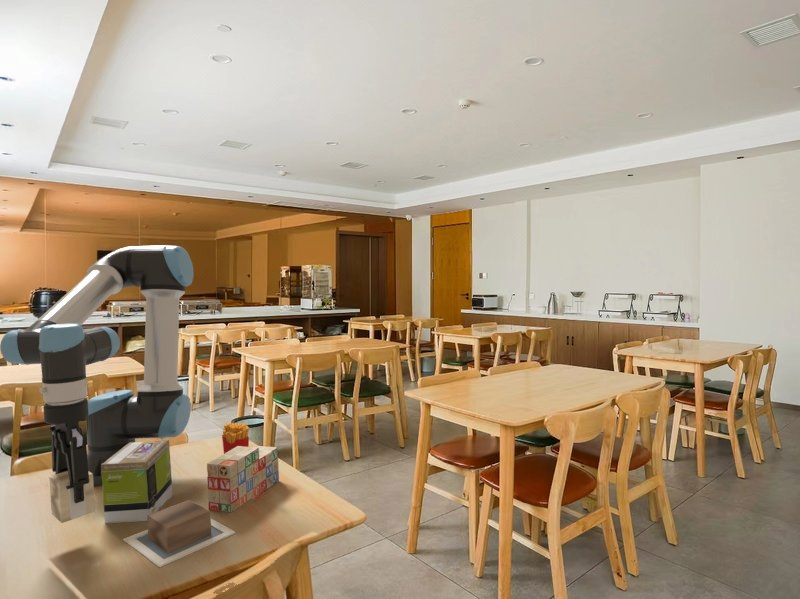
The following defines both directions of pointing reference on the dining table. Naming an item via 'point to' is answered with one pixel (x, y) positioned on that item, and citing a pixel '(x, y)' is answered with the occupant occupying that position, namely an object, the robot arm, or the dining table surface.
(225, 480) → the stack of blocks
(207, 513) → the walnut base block
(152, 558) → the board
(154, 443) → the tea box
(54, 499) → the beech brick
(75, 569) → the dining table surface
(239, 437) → the french fries
